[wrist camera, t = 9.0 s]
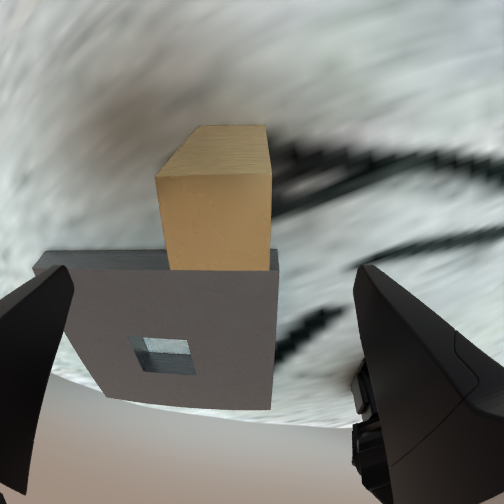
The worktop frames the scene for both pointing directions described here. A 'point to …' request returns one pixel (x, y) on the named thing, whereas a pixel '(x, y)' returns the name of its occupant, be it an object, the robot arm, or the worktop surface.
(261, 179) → the brass peg
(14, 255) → the worktop surface
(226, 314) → the post plate
